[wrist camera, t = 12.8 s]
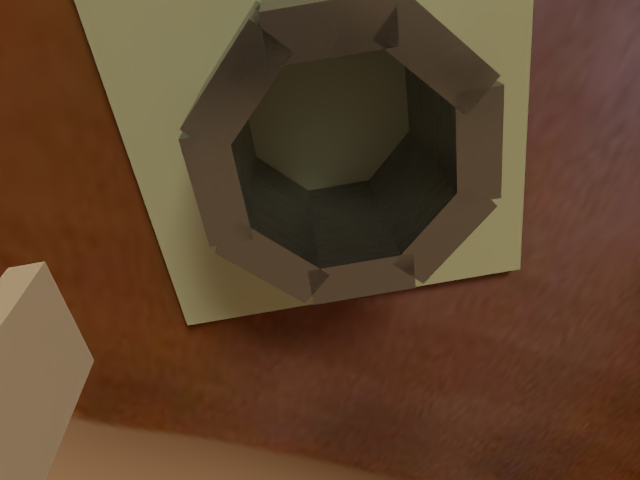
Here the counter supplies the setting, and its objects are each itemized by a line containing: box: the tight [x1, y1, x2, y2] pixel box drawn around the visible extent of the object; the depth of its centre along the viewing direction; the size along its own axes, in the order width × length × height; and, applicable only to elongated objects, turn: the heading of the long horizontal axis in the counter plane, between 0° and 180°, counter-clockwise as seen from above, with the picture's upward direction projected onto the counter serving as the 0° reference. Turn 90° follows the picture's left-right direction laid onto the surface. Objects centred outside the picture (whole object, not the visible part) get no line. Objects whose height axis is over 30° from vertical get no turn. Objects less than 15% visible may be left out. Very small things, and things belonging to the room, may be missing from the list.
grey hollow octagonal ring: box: [178, 0, 504, 305], centre depth 20 cm, size 10×10×7 cm
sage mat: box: [74, 0, 533, 325], centre depth 23 cm, size 18×20×1 cm
